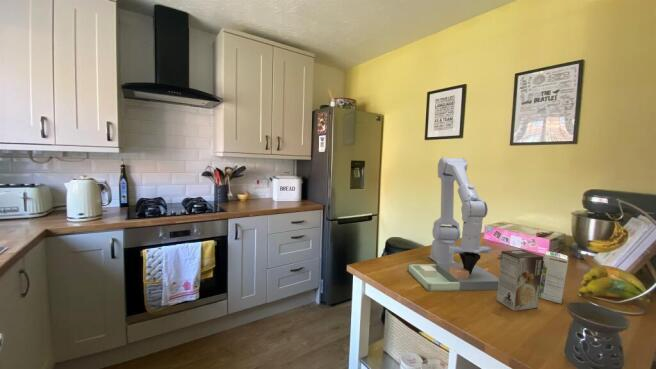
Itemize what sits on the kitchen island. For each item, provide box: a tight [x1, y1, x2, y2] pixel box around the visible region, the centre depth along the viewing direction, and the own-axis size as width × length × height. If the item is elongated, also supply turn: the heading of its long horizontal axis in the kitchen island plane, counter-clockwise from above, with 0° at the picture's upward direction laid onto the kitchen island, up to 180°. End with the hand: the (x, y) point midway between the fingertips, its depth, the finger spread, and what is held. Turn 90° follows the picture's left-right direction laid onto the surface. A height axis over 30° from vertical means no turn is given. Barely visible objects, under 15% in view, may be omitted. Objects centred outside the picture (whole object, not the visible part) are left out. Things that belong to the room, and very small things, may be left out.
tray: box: [407, 263, 460, 292], centre depth 98 cm, size 16×11×2 cm
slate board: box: [434, 262, 499, 292], centre depth 100 cm, size 16×16×3 cm
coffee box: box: [496, 249, 544, 312], centre depth 83 cm, size 9×6×16 cm
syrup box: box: [539, 250, 569, 305], centre depth 88 cm, size 6×6×14 cm
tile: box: [419, 266, 437, 277], centre depth 101 cm, size 4×4×2 cm
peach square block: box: [449, 266, 469, 279], centre depth 95 cm, size 4×4×2 cm
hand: (467, 273), depth 96 cm, fingers closed
